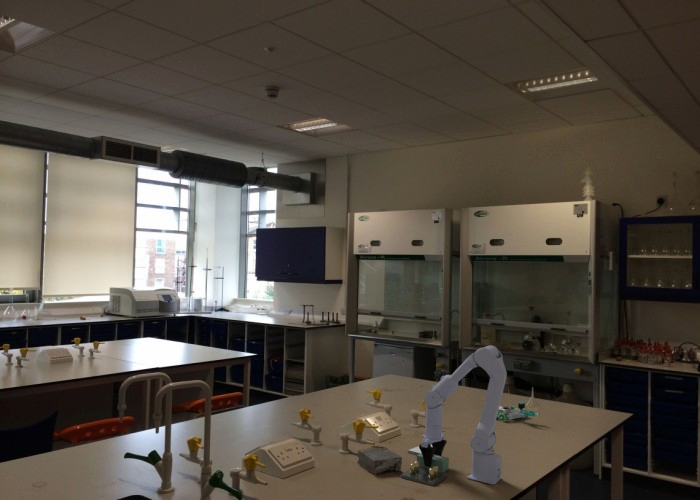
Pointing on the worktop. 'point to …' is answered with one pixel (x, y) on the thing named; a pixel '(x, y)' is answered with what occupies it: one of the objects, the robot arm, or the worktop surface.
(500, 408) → the robot kit
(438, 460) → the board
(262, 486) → the worktop surface
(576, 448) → the worktop surface
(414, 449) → the external hard drive
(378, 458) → the geological specimen
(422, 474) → the plate
